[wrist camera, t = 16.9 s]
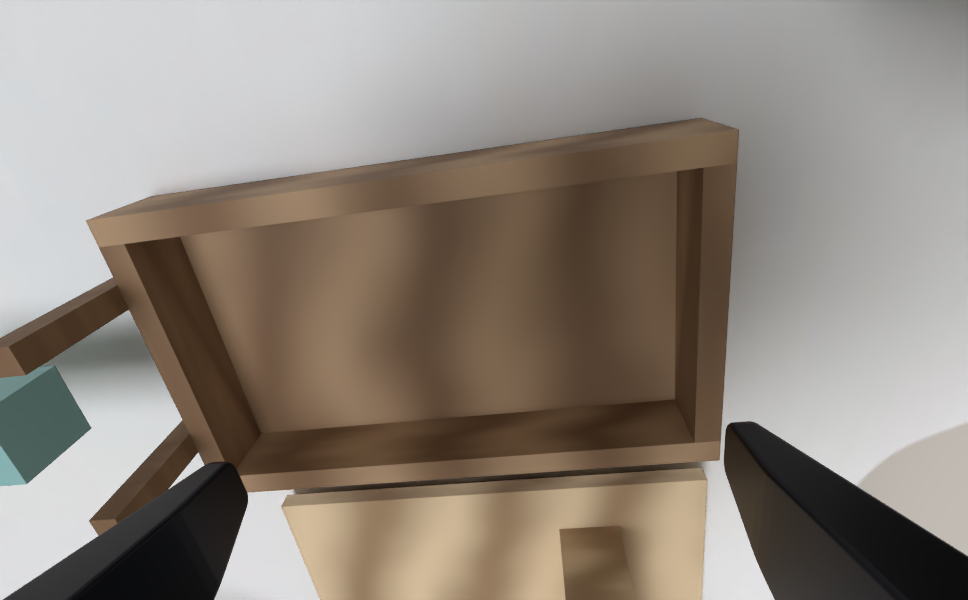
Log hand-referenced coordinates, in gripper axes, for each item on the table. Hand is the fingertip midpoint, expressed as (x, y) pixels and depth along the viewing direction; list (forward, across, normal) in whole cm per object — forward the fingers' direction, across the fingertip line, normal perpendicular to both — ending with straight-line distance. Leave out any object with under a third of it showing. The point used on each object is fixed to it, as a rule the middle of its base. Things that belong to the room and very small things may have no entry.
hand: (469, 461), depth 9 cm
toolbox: (+13, +3, +3) cm, 14 cm away
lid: (+12, +2, +19) cm, 23 cm away
